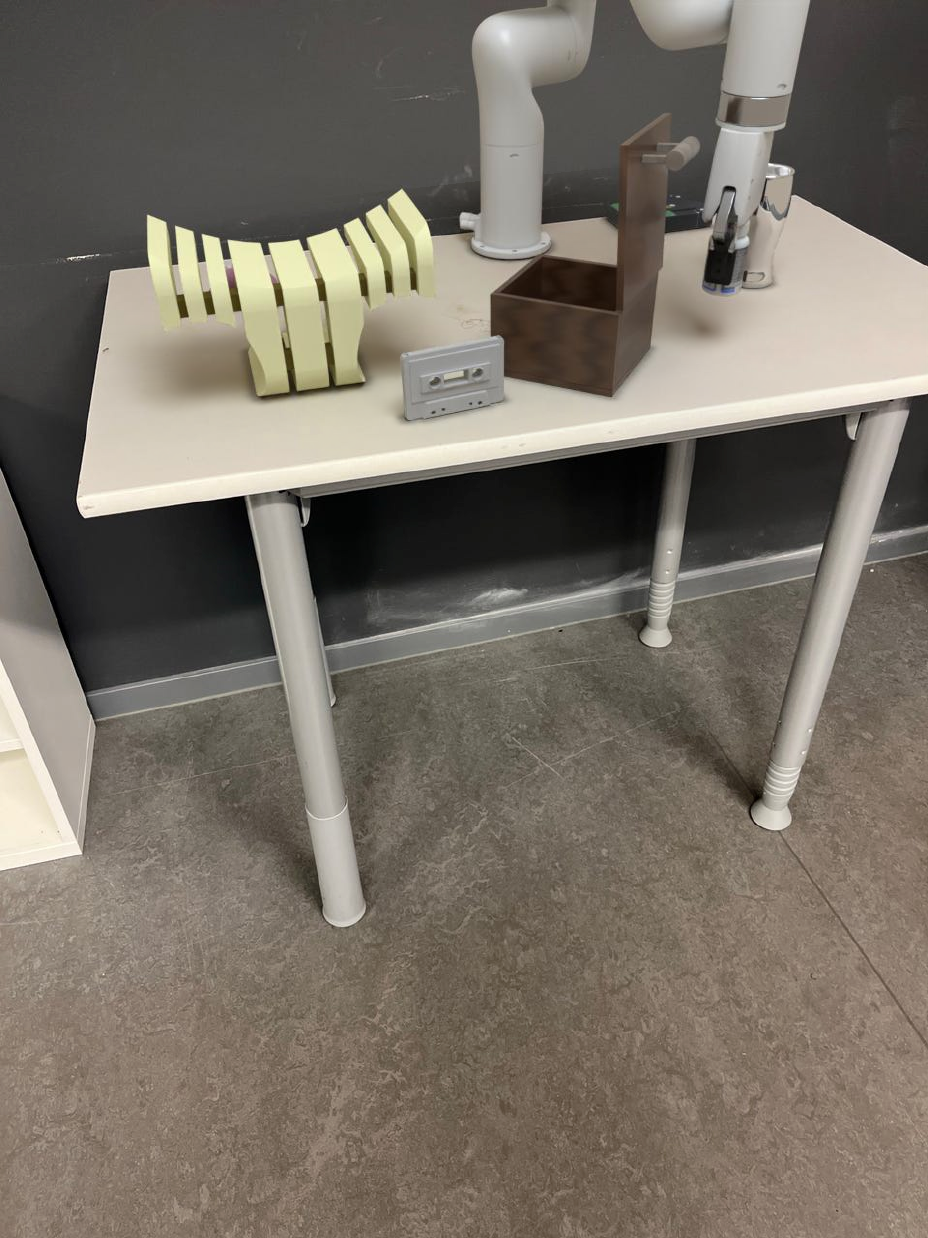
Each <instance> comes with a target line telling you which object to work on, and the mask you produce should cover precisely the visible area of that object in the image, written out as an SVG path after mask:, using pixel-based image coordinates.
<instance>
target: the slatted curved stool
mask: <svg viewBox="0 0 928 1238" xmlns="http://www.w3.org/2000/svg"><path fill="white" fill-rule="evenodd" d="M387 209H388V214H387V212H386V211H385V210H384V208H383V206H382V204H379V205H377V206H375V207H373V208H372V209H371V210H369V211H367V212H366V213H365V221H366V222H365V223H366V226H367V229H368V230H369V232H370V234H371V236H372V238H373V240H374V242H373V240H372V238H371V237H370V235H369V233H368V232H367V230H366V228H365V227H364V225H363V223H362V221H361V219H360V218H359V217H357V218H355V219H353V220H350V221H348V222H347V223H344V224H343V231H344V237H345V238H346V241H347V243H348V245H349V247H350V250H351V251H352V252H351V253H352V254H353V257H354V260H355V262H354V260H353V257H352V256H351V254H350V252H349V250H348V249H347V246H346V244H345V242H344V240H343V238H342V237H341V234H340V232H339V230H338V228H337V227H335V228H333V229H331V230H328V231H325V232H322V233H319V234H316V235H312V236H309V237H306V244H307V249H308V251H309V254H310V257H311V260H312V263H313V265H314V268H315V271H316V275H317V277H316V278H315V276H314V274H313V272H312V269H311V267H310V264H309V261H308V258H307V256H306V254H305V251H304V248H303V246H302V243H301V241H300V239H295V240H288V241H280V242H279V241H277V242H268V244H267V245H268V251H269V252H268V253H269V255H270V258H271V262H272V266H273V269H274V272H275V276H276V277H275V278H276V280H277V282H278V283H274V284H272V282H271V278H270V275H269V274H270V271H269V268H268V264H267V262H266V258H265V255H264V252H263V251H264V250H263V248H262V244H261V243H260V242H251V241H239V240H234V239H233V240H231V239H227V245H228V250H229V255H230V261H231V265H232V266H233V270H234V275H235V280H236V285H237V288H231V289H229V287H228V282H227V277H226V272H225V266H226V265H225V263H224V262H225V261H224V257H223V252H222V251H223V250H222V247H221V241H220V237H216V236H213V235H212V236H211V235H207V234H204V233H201V239H202V245H203V251H204V257H205V264H206V271H207V276H208V282H209V289H210V288H211V291H209V290H206V291H204V289H203V283H202V277H201V271H200V265H199V259H198V252H197V251H198V250H197V244H196V239H195V234H194V231H193V230H189V229H188V228H183V227H180V226H177V225H174V229H175V240H176V241H175V242H176V252H177V254H176V255H177V263H178V264H177V265H178V271H179V277H180V282H181V287H182V292H183V293H180V294H178V290H177V285H176V281H175V275H174V267H173V263H172V262H173V260H172V259H173V258H172V251H171V241H170V240H171V239H170V234H169V229H168V225H167V222H166V221H165V220H161V219H160V218H157V217H155V216H152V215H149V214H146V231H147V232H146V234H147V237H146V238H147V240H146V241H147V243H146V244H147V257H148V263H149V269H150V275H151V279H152V283H153V288H154V293H155V296H156V301H157V305H158V309H159V313H160V319H161V323H162V326H163V329H164V332H167V331H170V330H173V329H175V328H178V327H182V326H183V325H182V324H183V323H182V319H185V318H186V319H187V318H188V319H189V323H190V324H196V323H205V322H209V318H208V316H210V315H211V316H212V315H215V318H216V323H220V324H225V325H229V326H231V327H233V328H235V329H237V324H236V320H235V314H234V313H235V312H236V313H237V312H241V317H242V322H243V326H244V331H245V337H246V340H247V341H248V342H249V344H250V347H249V349H248V351H247V353H248V359H249V363H250V368H251V373H252V377H253V383H254V387H255V392H256V395H257V396H258V397H263V396H271V395H277V394H286V393H290V383H289V377H288V376H289V375H288V371H290V372H291V376H292V379H293V383H294V386H295V391H297V392H300V391H308V390H315V389H322V388H329V387H330V378H329V377H330V376H329V371H330V374H331V378H332V379H333V383H334V385H335V386H337V387H338V386H342V385H343V386H344V385H351V384H357V383H364V382H366V377H365V375H364V373H363V371H362V368H361V366H360V363H359V361H358V352H359V345H360V339H361V336H362V331H363V328H364V325H365V320H364V309H363V299H362V297H363V298H364V300H365V302H366V305H367V306H368V308H369V310H370V312H373V311H374V309H376V308H377V307H378V306H380V305H381V304H383V303H386V302H387V301H388V300H387V294H392V296H393V298H394V299H399V298H407V297H412V291H415V292H416V294H417V295H418V297H423V298H432V299H436V298H437V297H436V296H437V295H436V275H435V256H434V246H433V241H432V237H431V231H430V229H429V225H428V223H427V220H426V219H425V218H424V216H423V215H422V213H421V212H420V211H419V210H418V207H417V206H415V204H414V203H413V201H412V199H410V197H409V196H408V194H407V193H406V192H405V191H404V189H403V188H401V189H400V190H398V191H397V192H395V193H394V194H393V195H391V196H390V197H389V198H387ZM374 243H375V244H374ZM375 245H376V246H375ZM355 263H356V264H355ZM320 302H323V309H324V314H325V321H326V327H323V319H322V312H321V304H320ZM278 307H282V311H283V315H284V321H285V327H286V328H285V329H286V332H281V325H280V319H279V313H278Z"/></svg>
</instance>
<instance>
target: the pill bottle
mask: <svg viewBox="0 0 928 1238" xmlns="http://www.w3.org/2000/svg"><path fill="white" fill-rule="evenodd" d="M736 219H737V218H734V217H730V219H729V222H732V223H735V221H736ZM749 225H750V220H749V219H748V220H747V221H746V222H745V223H744V224H743V225H741V226H740V228H739V233H738V237H737V241H736V246H735V250H734V251H737V255H736V260H735V266H734V271H733V276H732V282H731V283H730V285H728V286H725V285H719V284H713V283H707V282H705V281H704V276H705V270H706V264H707V258H708V252H709V248H710V243H711V238H712V234H710V236H709V238H708V244H707V250H706V255H705V263H704V269H703V275H702V281H701V290H702V291H703V292H704V293H706V294H708V295H710V296H716V297H727V298H728V297H732V296H736V295H737V294H739V293H740V292H741V289H742V287H741V285H742V280H743V274H744V269H745V264H746V258H747V253H748V247H749V238H748V236H747V234H748V231H749ZM727 230H728V231H727V232H729V233H730V236H732V231H733V229H730V228H727Z"/></svg>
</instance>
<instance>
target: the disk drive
mask: <svg viewBox="0 0 928 1238" xmlns="http://www.w3.org/2000/svg"><path fill="white" fill-rule="evenodd" d="M692 198H693V197H692V196H690V195H689V194H687V193H677V194H671V195H667V201H666V219H665V233H668V232H670V233H671V232H678V231H685V230H692V229H693V230H694V229H699V228H704V227H708V226H712V225H713V219H714V217H713V218H712V219H711V220H709V221H708V222H704V221H703V219H702V213H703V208H704V203H702V202H700V201H699V200H693V199H692ZM618 207H619V201H614V202H607V203H606V210H605V218H606V219H607V220H608V221H609V222H610V223H612V224H613V225H615V226H616V227H617V228H618Z"/></svg>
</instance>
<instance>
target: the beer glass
mask: <svg viewBox="0 0 928 1238" xmlns="http://www.w3.org/2000/svg"><path fill="white" fill-rule="evenodd" d="M795 171H796V170H795V169H794V168H793V167H791V166H788V165H785V164H780V163H771V162H769V164H768V169H767V175H766V179H765V184H764V188H763V193H762V196H761V200H760V203H759V205H758V207H757V208H756V210H755V211H754V212H753V214H752V215H751V219H750V227H749V231H748V234H747V236H748V238H749V247H748V253H747V258H746V264H745V269H744V274H743V280H742V285H741V288H744V289H763V288H766V287H769V286H771V284H772V282H773V261H774V257H775V253H776V249H777V247H778V244H779V241H780V239H781V237H782V233H783V230H784V228H785V225H786V221H787V218H788V216H789V212H790V207H791V202H792V195H793V188H794V180H795V179H794V178H795V173H796V172H795Z"/></svg>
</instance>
